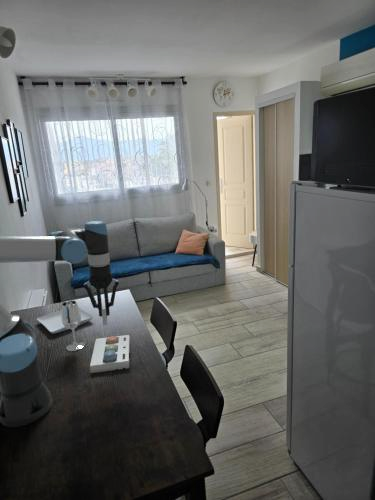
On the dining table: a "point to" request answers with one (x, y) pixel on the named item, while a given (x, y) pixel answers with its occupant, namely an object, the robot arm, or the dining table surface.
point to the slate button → (109, 356)
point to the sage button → (111, 347)
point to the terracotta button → (112, 340)
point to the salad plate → (55, 322)
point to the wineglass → (71, 322)
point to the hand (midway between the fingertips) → (105, 323)
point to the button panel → (121, 353)
